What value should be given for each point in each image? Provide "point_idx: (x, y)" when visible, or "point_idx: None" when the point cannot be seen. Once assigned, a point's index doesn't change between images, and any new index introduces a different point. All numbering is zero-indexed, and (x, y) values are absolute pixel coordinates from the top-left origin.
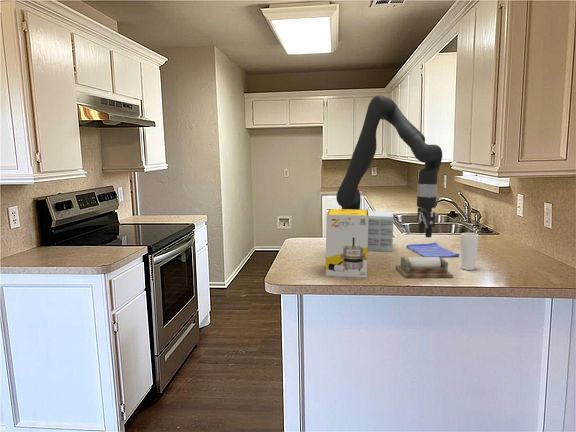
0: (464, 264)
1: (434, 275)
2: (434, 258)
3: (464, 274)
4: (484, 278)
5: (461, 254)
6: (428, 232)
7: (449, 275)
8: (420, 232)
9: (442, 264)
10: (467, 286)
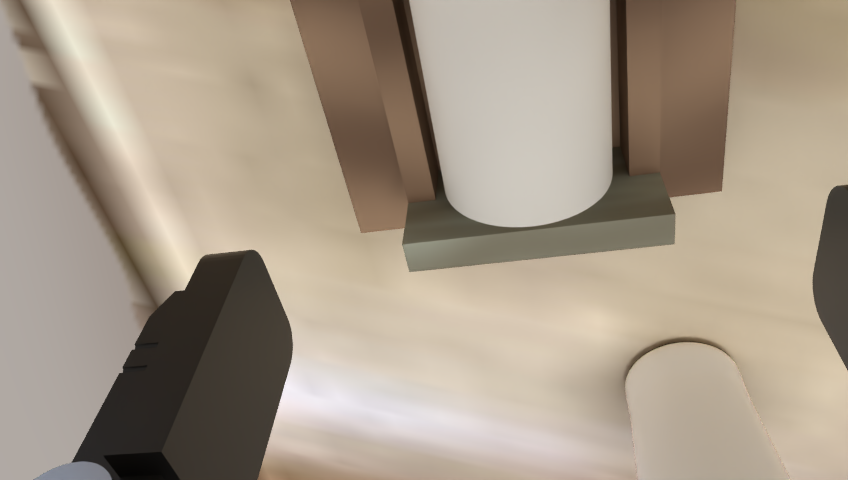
0: (655, 383)
1: (311, 63)
2: (484, 166)
3: (499, 317)
4: (409, 402)
5: (722, 443)
6: (133, 388)
7: (352, 201)
8: (830, 220)
9: None
10: (153, 263)
